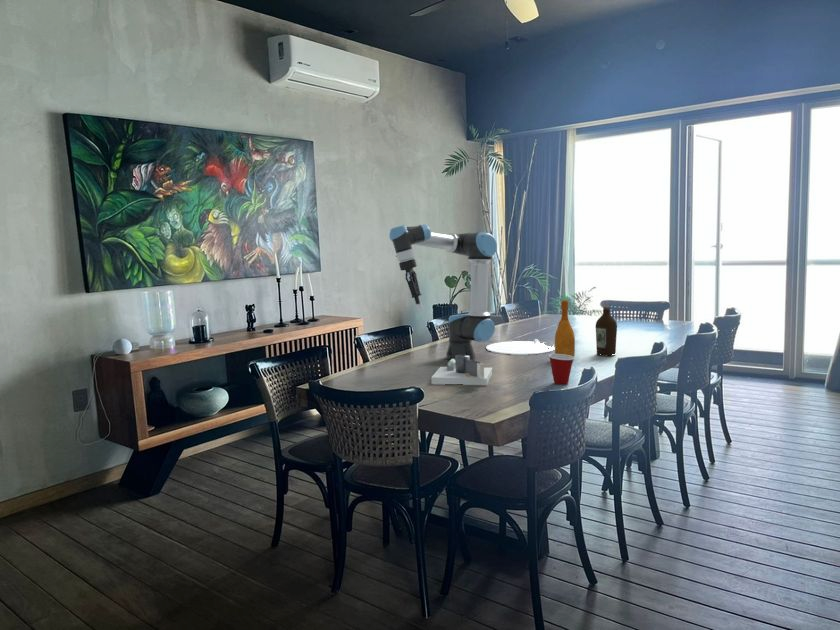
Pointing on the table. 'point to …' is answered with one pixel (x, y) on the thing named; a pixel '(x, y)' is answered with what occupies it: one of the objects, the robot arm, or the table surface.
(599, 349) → the olive oil
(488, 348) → the lazy susan
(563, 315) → the wine bottle
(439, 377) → the instrument base
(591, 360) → the table surface
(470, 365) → the dark grey lever
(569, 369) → the plastic cup
